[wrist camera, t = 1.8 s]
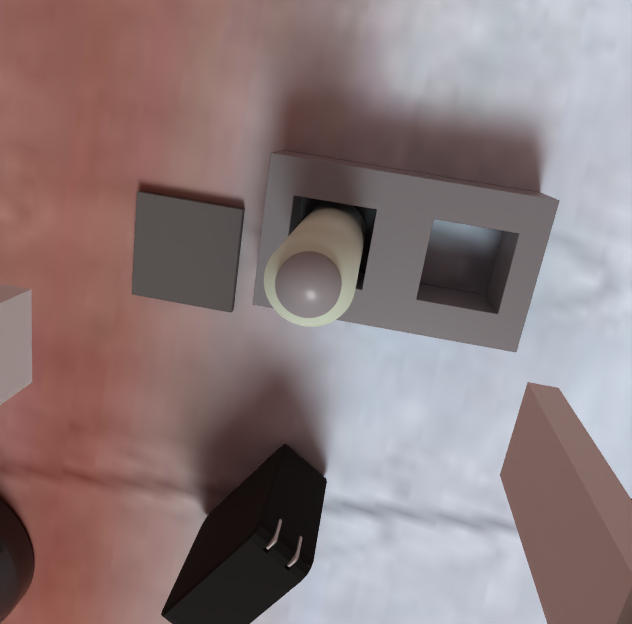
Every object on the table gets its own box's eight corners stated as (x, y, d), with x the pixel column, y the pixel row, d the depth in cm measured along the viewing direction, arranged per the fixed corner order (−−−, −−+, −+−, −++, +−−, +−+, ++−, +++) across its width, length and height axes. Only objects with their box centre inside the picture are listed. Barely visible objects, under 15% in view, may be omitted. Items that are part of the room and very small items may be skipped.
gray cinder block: (265, 287, 39) (252, 304, 35) (282, 150, 36) (270, 152, 32) (503, 329, 38) (516, 352, 34) (540, 192, 35) (559, 200, 31)
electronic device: (204, 517, 45) (155, 620, 36) (286, 438, 42) (258, 528, 33) (244, 550, 46) (207, 660, 36) (328, 475, 43) (312, 573, 33)
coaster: (135, 291, 40) (131, 294, 39) (140, 190, 38) (137, 191, 37) (233, 309, 39) (231, 312, 39) (244, 208, 37) (242, 210, 37)
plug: (299, 256, 38) (255, 322, 25) (308, 195, 37) (267, 232, 24) (359, 266, 38) (346, 338, 25) (370, 206, 36) (362, 248, 23)
